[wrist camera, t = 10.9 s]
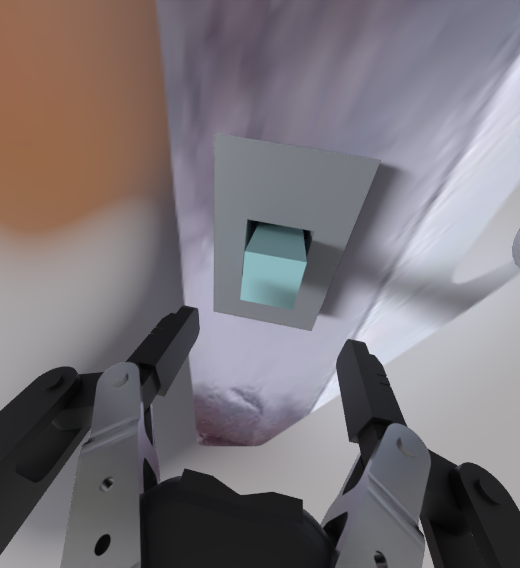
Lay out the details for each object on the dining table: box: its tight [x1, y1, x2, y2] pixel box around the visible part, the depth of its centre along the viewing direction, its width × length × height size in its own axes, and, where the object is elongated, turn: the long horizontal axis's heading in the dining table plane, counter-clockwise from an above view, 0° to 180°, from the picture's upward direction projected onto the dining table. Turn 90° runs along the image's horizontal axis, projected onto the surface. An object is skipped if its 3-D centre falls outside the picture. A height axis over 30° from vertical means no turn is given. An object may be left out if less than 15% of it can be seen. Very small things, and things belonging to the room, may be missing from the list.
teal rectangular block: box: [240, 222, 307, 310], centre depth 17 cm, size 4×4×8 cm
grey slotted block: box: [214, 133, 381, 331], centre depth 19 cm, size 16×11×4 cm
